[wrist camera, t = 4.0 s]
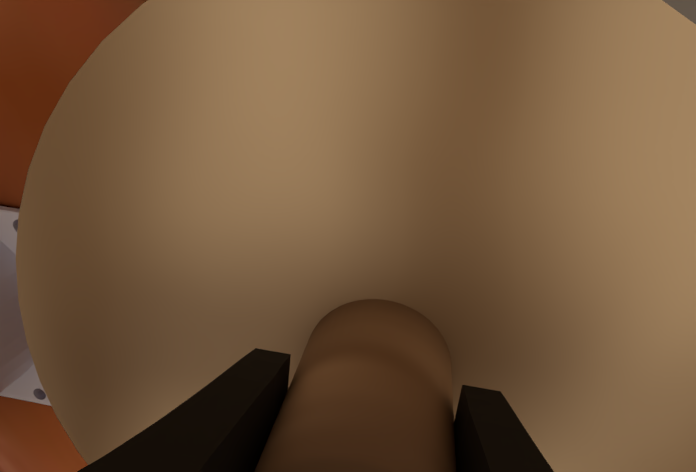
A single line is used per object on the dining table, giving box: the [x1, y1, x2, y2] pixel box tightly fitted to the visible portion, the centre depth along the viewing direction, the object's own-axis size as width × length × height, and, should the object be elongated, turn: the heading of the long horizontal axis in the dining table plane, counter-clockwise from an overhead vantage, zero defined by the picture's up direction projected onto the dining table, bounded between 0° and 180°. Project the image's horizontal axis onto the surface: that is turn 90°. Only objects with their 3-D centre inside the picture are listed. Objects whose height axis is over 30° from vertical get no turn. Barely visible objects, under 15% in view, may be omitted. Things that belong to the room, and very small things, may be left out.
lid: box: [16, 0, 696, 472], centre depth 9 cm, size 15×15×5 cm
